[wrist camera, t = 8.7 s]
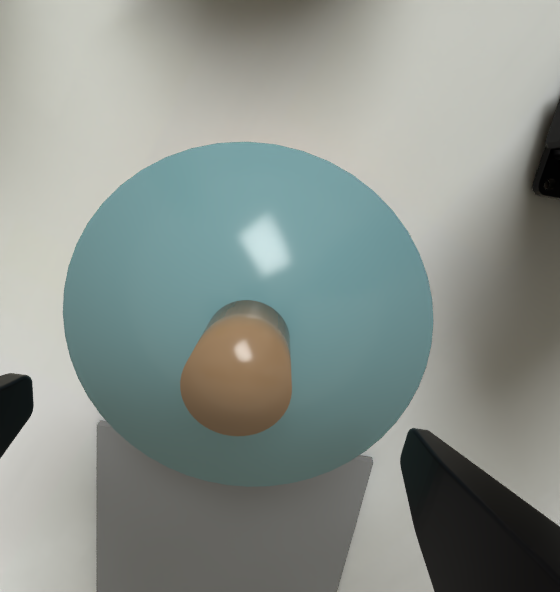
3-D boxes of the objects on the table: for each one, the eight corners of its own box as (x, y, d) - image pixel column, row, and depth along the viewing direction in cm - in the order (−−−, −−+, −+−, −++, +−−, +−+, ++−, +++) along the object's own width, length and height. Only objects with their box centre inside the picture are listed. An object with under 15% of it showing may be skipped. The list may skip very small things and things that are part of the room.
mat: (371, 457, 21) (373, 462, 21) (326, 618, 25) (327, 624, 25) (100, 420, 20) (96, 425, 20) (99, 591, 24) (96, 597, 24)
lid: (470, 179, 12) (561, 175, 8) (378, 490, 15) (409, 589, 12) (73, 113, 11) (-37, 74, 7) (77, 449, 15) (6, 539, 11)
